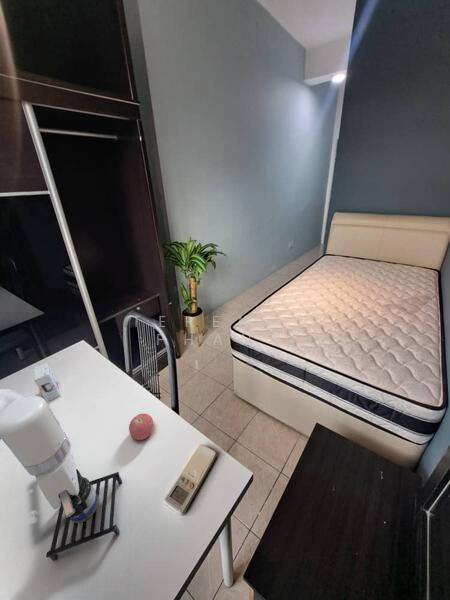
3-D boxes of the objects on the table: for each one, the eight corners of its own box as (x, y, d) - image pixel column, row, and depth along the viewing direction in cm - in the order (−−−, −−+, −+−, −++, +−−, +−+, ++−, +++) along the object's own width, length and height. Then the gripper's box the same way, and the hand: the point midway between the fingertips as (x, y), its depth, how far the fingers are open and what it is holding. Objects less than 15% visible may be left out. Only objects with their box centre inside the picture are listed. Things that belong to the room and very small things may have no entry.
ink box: (44, 389, 101) (31, 367, 95) (58, 383, 103) (47, 361, 98) (46, 403, 94) (33, 380, 89) (61, 396, 97) (49, 374, 91)
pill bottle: (65, 518, 58) (47, 494, 53) (86, 490, 63) (71, 465, 58) (85, 529, 56) (68, 505, 51) (105, 499, 61) (91, 474, 56)
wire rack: (54, 565, 55) (45, 556, 52) (68, 500, 66) (61, 491, 63) (120, 538, 58) (115, 529, 56) (123, 481, 69) (118, 471, 67)
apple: (134, 449, 77) (127, 433, 73) (131, 429, 83) (125, 414, 79) (157, 438, 80) (152, 422, 76) (153, 420, 85) (148, 404, 82)
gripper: (24, 429, 53) (56, 474, 61) (22, 508, 40) (63, 551, 49) (63, 410, 56) (88, 455, 65) (74, 477, 44) (103, 522, 52)
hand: (77, 496), depth 57 cm, fingers closed on pill bottle, 6 cm apart
